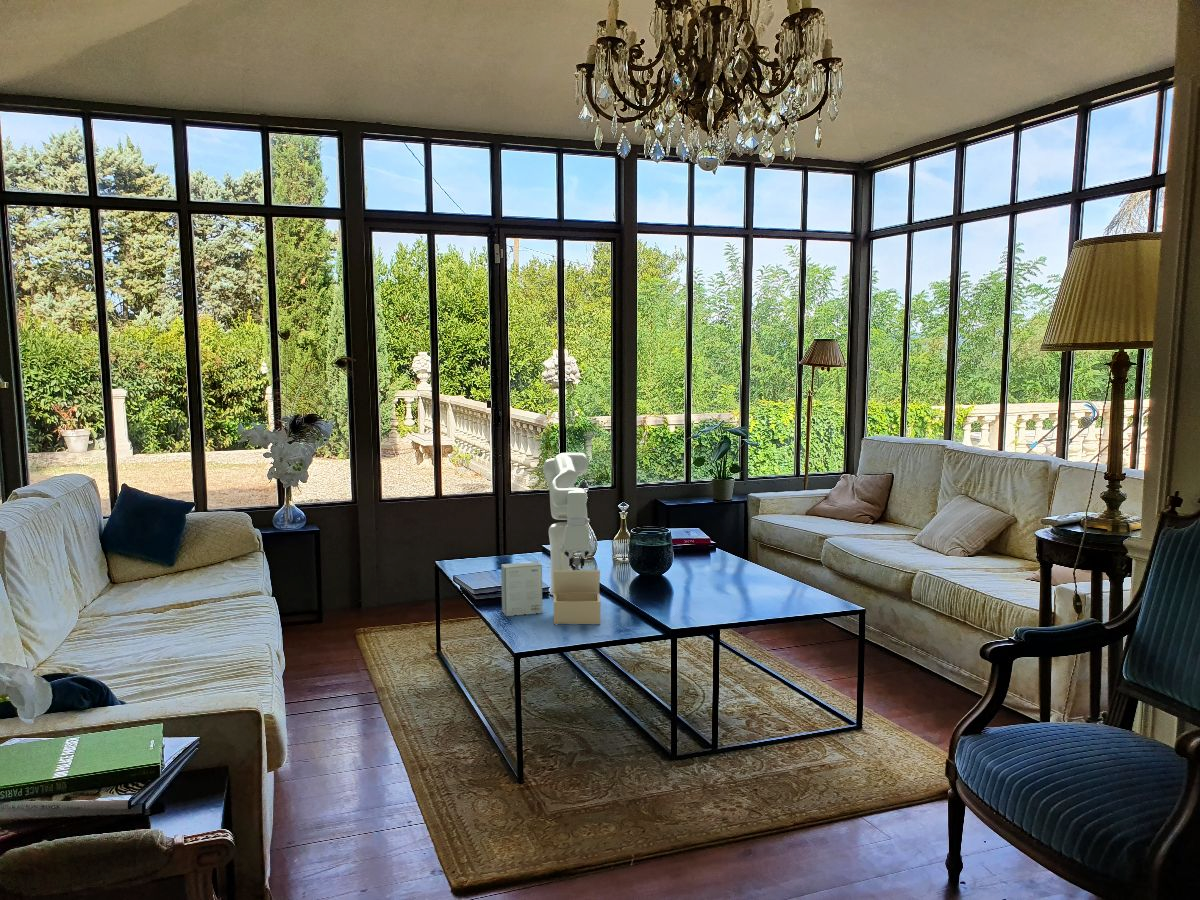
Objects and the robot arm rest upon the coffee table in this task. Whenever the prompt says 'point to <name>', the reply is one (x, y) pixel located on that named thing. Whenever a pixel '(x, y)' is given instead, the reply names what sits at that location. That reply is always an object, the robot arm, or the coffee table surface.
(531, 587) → the hard drive box
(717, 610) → the coffee table surface
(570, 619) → the carton
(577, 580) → the carton flap
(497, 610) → the coffee table surface
